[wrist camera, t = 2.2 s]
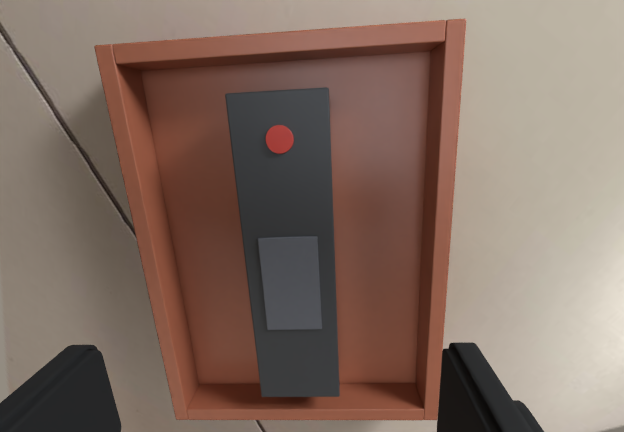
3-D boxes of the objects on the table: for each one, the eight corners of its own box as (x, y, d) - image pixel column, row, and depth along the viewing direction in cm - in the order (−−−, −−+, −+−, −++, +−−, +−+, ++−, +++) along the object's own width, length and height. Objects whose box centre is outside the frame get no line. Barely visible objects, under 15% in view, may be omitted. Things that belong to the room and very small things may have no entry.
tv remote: (269, 364, 21) (260, 399, 18) (240, 97, 16) (222, 93, 13) (338, 363, 20) (339, 399, 18) (328, 92, 16) (328, 86, 13)
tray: (192, 386, 22) (175, 420, 20) (129, 56, 16) (93, 45, 14) (424, 385, 21) (437, 420, 19) (444, 34, 15) (467, 17, 13)
